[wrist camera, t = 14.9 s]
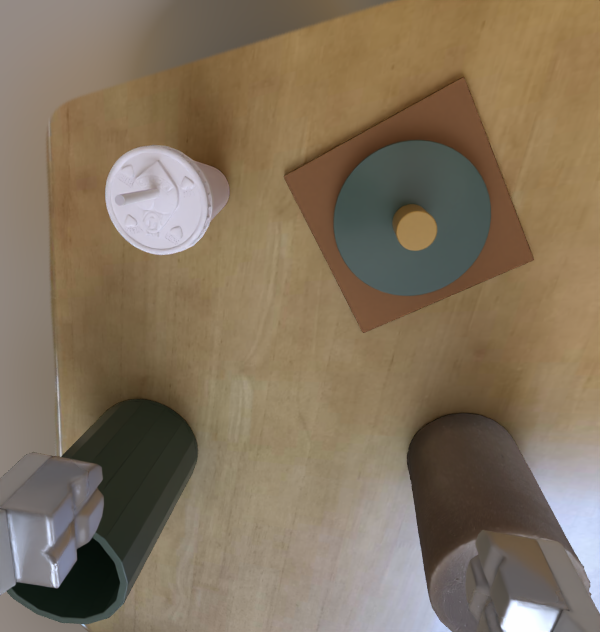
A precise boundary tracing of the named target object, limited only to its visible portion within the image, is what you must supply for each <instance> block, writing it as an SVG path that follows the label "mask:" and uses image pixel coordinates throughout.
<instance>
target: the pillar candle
mask: <svg viewBox="0 0 600 632" xmlns="http://www.w3.org/2000/svg"><path fill="white" fill-rule="evenodd" d="M407 465H408V470H409V474H410V480H411V483H412V491H413V498H414V505H415V511H416V519H417V526H418V533H419V538H420V545H421V551H422V557H423V564H424V571H425V576H426V582H427V589H428V594H429V598H430V602H431V605H432V608H433V610H434V611H435V613H436V614H437V616H438V617H439V619H440V621H441V622H442V623H443V624H444V625H445V626H446V627H448V628H449V629H450V630H451V631H452V632H476V629H477V626H478V623H479V621H478V620H477V619H476V618H475V617H474V616H473V614H472V613H471V612H470V611H469V607H468V603H467V598H466V589H465V582H466V571H467V568H468V564H469V561H470V560H471V559H472V558H474V557H475V556H477V555H478V552H477V549H476V545H475V543H476V540H477V537H478V534H479V533H480V532H481V531H482V530H487V531H493V532H499V533H505V534H511V535H517V536H524V537H529V538H538V539H545V540H551V541H558V542H559V543H560V544H561V545H562V546H563V547H564V549H565V551H566V552H567V554H568V556H569V558H570V560H571V562H572V564H573V565H574V567H575V569H576V571H577V573H578V575H579V576H580V578H581V580H582V582H583V584H584V586H585V588H586V589H587V591H588V593H589V595H590V597H591V593H590V592H589V588H590V581H589V579H588V578H587V575H586V572H585V570H584V566H583V565H582V564H581V562H580V561H579V559H578V557H577V555H576V554H575V552H574V550H573V548H572V547H571V545H570V543H569V541H568V540H567V538H566V536H565V534H564V532H563V530H562V528H561V526H560V524H559V523H558V521H557V519H556V517H555V515H554V513H553V511H552V510H551V508H550V506H549V504H548V502H547V500H546V499H545V497H544V495H543V493H542V491H541V489H540V487H539V485H538V484H537V482H536V479H535V478H534V476H533V474H532V472H531V470H530V468H529V467H528V465H527V463H526V461H525V459H524V458H523V455H522V454H521V452H520V450H519V449H518V447H517V445H516V443H515V441H514V440H513V438H512V437H511V435H510V434H509V433H508V432H507V431H506V430H505V429H504V428H503V427H502V426H501V425H499V424H498V423H497V422H495V421H494V420H492V419H489V418H486V417H483V416H481V415H477V414H466V413H460V414H453V415H447V416H444V417H442V418H439V419H437V420H435V421H433V422H431V423H429V424H428V425H426V426H425V427H423V428H422V429H421V430H420V431H419V432H418V433H417V434H416V435H415V436H414V438H413V439H412V441H411V443H410V446H409V451H408V454H407Z"/></svg>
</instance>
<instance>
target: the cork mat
mask: <svg viewBox="0 0 600 632" xmlns="http://www.w3.org/2000/svg"><path fill="white" fill-rule="evenodd" d="M408 140H426V141H433V142H437V143H441V144H443V145H446V146H448V147H451V148H453V149H454V150H456V151H458V152H459V153H461V154H462V155H463V156H465V157H466V158H467V159H468V160H469V161H470V162H471V163H472V164H473V165H474V166H475V167H476V169H477V170H478V172H479V173H480V175H481V176H482V178H483V180H484V182H485V184H486V187H487V190H488V193H489V197H490V203H491V222H490V229H489V233H488V237H487V240H486V242H485V245H484V247H483V249H482V251H481V253H480V254H479V256H478V258H477V259H476V260H475V262H474V263H473V265H472V266H471V267H470V268H469V269H468V270H467V271H466V272H465V273H464V274H463V275H462V276H460V277H459V278H458V279H457V280H455V281H454V282H452V283H451V284H449V285H447V286H445V287H443V288H441V289H439V290H436V291H434V292H431V293H427V294H422V295H415V296H400V295H392V294H388V293H385V292H382V291H379V290H377V289H374V288H372V287H371V286H369V285H367V284H365V283H364V282H363V281H361V280H360V279H359V278H358V277H357V276H356V275H355V274H354V273H353V272H352V271H351V270H350V269H349V268H348V266H347V265H346V264H345V262H344V260H343V258H342V257H341V255H340V252H339V250H338V247H337V244H336V240H335V236H334V228H333V218H334V210H335V205H336V201H337V198H338V195H339V193H340V190H341V188H342V186H343V184H344V182H345V181H346V179H347V177H348V176H349V175H350V173H351V172H352V171H353V169H354V168H355V167H356V166H357V165H358V164H359V163H360V162H361V161H363V160H364V159H365V158H366V157H367V156H369V155H370V154H372V153H374V152H375V151H377V150H379V149H381V148H383V147H385V146H387V145H390V144H394V143H397V142H402V141H408ZM284 178H285V180H286V182H287V184H288V186H289V188H290V190H291V192H292V194H293V196H294V198H295V200H296V202H297V204H298V206H299V208H300V210H301V212H302V214H303V216H304V218H305V220H306V222H307V224H308V226H309V228H310V230H311V232H312V234H313V236H314V237H315V239H316V241H317V243H318V245H319V247H320V249H321V251H322V253H323V255H324V257H325V259H326V261H327V263H328V265H329V267H330V269H331V271H332V273H333V275H334V277H335V279H336V281H337V283H338V285H339V287H340V289H341V291H342V293H343V295H344V297H345V299H346V301H347V303H348V304H349V306H350V308H351V310H352V312H353V314H354V316H355V318H356V320H357V322H358V324H359V326H360V328H361V330H362V332H363V333H365V332H367V331H369V330H372V329H374V328H376V327H379V326H381V325H383V324H386V323H388V322H390V321H393V320H395V319H397V318H400V317H402V316H404V315H407V314H409V313H411V312H414V311H416V310H418V309H421V308H423V307H425V306H428V305H430V304H432V303H435V302H437V301H439V300H442V299H444V298H446V297H449V296H451V295H453V294H456V293H458V292H460V291H463V290H465V289H467V288H470V287H472V286H474V285H477V284H479V283H481V282H484V281H486V280H488V279H491V278H493V277H495V276H498V275H500V274H502V273H505V272H507V271H509V270H512V269H514V268H516V267H519V266H521V265H523V264H526V263H528V262H530V261H533V260H534V259H533V256H532V253H531V251H530V248H529V245H528V243H527V240H526V238H525V235H524V232H523V230H522V227H521V225H520V222H519V219H518V217H517V214H516V212H515V209H514V206H513V204H512V201H511V198H510V196H509V193H508V191H507V188H506V185H505V183H504V180H503V178H502V175H501V172H500V170H499V167H498V164H497V162H496V159H495V157H494V154H493V151H492V149H491V146H490V144H489V141H488V138H487V136H486V133H485V131H484V128H483V125H482V123H481V120H480V117H479V115H478V112H477V110H476V107H475V104H474V102H473V99H472V97H471V94H470V91H469V89H468V86H467V84H466V81H465V78H464V77H462V78H460V79H459V80H457V81H455V82H453V83H451V84H450V85H448V86H446V87H444V88H442V89H441V90H439V91H437V92H435V93H433V94H432V95H430V96H428V97H426V98H424V99H423V100H421V101H419V102H417V103H415V104H413V105H412V106H410V107H408V108H406V109H404V110H403V111H401V112H399V113H397V114H395V115H394V116H392V117H390V118H388V119H386V120H385V121H383V122H381V123H379V124H377V125H376V126H374V127H372V128H370V129H368V130H366V131H365V132H363V133H361V134H359V135H357V136H356V137H354V138H352V139H350V140H348V141H347V142H345V143H343V144H341V145H339V146H338V147H336V148H334V149H332V150H330V151H329V152H327V153H325V154H323V155H321V156H320V157H318V158H316V159H314V160H312V161H310V162H309V163H307V164H305V165H303V166H301V167H300V168H298V169H296V170H294V171H292V172H291V173H289V174H287V175H285V176H284Z"/></svg>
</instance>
